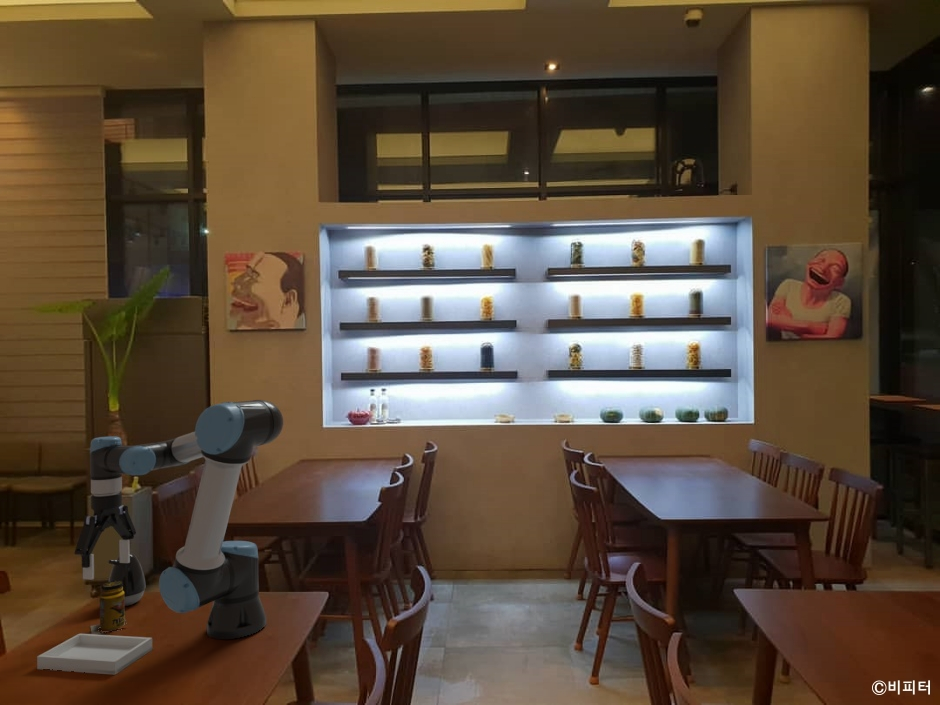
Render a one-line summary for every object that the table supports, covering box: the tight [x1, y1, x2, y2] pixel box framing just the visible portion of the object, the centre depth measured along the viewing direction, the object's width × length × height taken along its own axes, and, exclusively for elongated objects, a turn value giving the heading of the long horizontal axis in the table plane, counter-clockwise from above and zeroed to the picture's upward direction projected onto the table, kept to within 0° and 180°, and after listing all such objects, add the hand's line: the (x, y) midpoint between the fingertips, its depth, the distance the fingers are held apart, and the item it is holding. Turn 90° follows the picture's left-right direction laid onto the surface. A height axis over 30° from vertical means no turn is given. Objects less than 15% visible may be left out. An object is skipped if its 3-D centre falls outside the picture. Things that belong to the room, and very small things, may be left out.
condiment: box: [90, 581, 126, 635], centre depth 178 cm, size 7×8×12 cm
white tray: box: [36, 633, 153, 676], centre depth 159 cm, size 21×13×3 cm, turn 80°
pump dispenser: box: [107, 552, 146, 607], centre depth 196 cm, size 10×10×15 cm
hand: (107, 570), depth 178 cm, fingers open, 13 cm apart
